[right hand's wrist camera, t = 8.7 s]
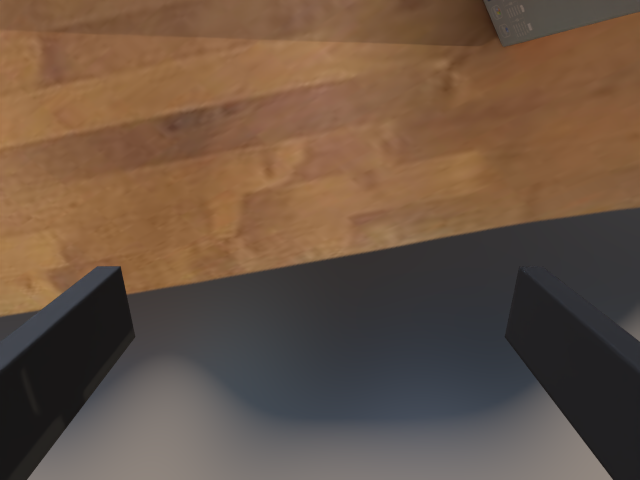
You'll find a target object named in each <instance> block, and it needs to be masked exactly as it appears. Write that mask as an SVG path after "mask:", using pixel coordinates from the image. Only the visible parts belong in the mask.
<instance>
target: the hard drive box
mask: <svg viewBox="0 0 640 480" xmlns="http://www.w3.org/2000/svg"><path fill="white" fill-rule="evenodd" d="M483 1H484V3H485V5H486V8H487V10H488V13H489V15H490V17H491V20H492V22H493V25H494V27H495V30H496V32H497V35H498V37H499V39H500V42H501V44H502V46H503V47H505V46H509V45H514V44H518V43H522V42H525V41H529V40H533V39H537V38H541V37H544V36H548V35H552V34H556V33H560V32H563V31H567V30H571V29H575V28H578V27H582V26H586V25H590V24H594V23H597V22H601V21H605V20H609V19H613V18H616V17H620V16H624V15H628V14H632V13H636V12H640V0H483Z"/></svg>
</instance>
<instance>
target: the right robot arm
mask: <svg viewBox="0 0 640 480" xmlns="http://www.w3.org/2000/svg"><path fill="white" fill-rule="evenodd" d="M134 338H135V334H134V329H133V324H132V319H131V314H130V309H129V305H128V300H127V295H126V290H125V285H124V281H123V276H122V271H121V266H97V267H96V268H95V269H93V270H92V271H91V272H89V273H88V274H87V275H86V276H84V277H83V278H82V279H80V280H79V281H78V282H77V283H75V284H74V285H73V286H71V287H70V288H69V289H68V290H66V291H65V292H64V293H62V294H61V295H60V296H59V297H57V298H56V299H55V300H53V301H52V302H51V303H50V304H48V305H47V306H46V307H44V308H43V309H42V310H41V311H39V312H38V313H37V314H35V315H34V316H33V317H32V318H30V319H29V320H28V321H26V322H25V323H24V324H23V325H21V326H20V327H19V328H17V329H16V330H15V331H14V332H12V333H11V334H10V335H8V336H7V337H6V338H4V339H3V340H2V341H1V342H0V480H27V479H28V477H29V476H30V475H31V474H32V472H33V471H34V470H35V468H36V467H37V466H38V464H39V463H40V462H41V460H42V459H43V458H44V456H45V455H46V454H47V452H48V451H49V450H50V448H51V447H52V446H53V445H54V443H55V442H56V441H57V439H58V438H59V437H60V435H61V434H62V433H63V431H64V430H65V429H66V427H67V426H68V425H69V423H70V422H71V421H72V419H73V418H74V417H75V416H76V414H77V413H78V412H79V410H80V409H81V408H82V406H83V405H84V404H85V402H86V401H87V400H88V398H89V397H90V396H91V395H92V393H93V392H94V391H95V389H96V388H97V387H98V385H99V384H100V383H101V381H102V380H103V379H104V377H105V376H106V375H107V373H108V372H109V371H110V369H111V368H112V367H113V366H114V364H115V363H116V362H117V360H118V359H119V358H120V356H121V355H122V354H123V352H124V351H125V350H126V348H127V347H128V346H129V344H130V343H131V342H132V341H133V339H134ZM505 338H506V339H507V341H508V342H509V343H510V344H511V346H512V347H513V348H514V350H515V351H516V352H517V354H518V355H519V356H520V358H521V359H522V360H523V362H524V363H525V364H526V366H527V367H528V368H529V369H530V371H531V372H532V373H533V375H534V376H535V377H536V379H537V380H538V381H539V383H540V384H541V385H542V387H543V388H544V389H545V391H546V392H547V393H548V395H549V396H550V397H551V398H552V400H553V401H554V402H555V404H556V405H557V406H558V408H559V409H560V410H561V412H562V413H563V414H564V416H565V417H566V418H567V420H568V421H569V422H570V423H571V425H572V426H573V427H574V429H575V430H576V431H577V433H578V434H579V435H580V437H581V438H582V439H583V441H584V442H585V443H586V445H587V446H588V447H589V448H590V450H591V451H592V452H593V454H594V455H595V456H596V458H597V459H598V460H599V462H600V463H601V464H602V466H603V467H604V468H605V470H606V471H607V472H608V474H609V475H610V476H611V477H612V479H613V480H640V342H639V341H638V340H637V339H635V338H634V337H633V336H632V335H630V334H629V333H628V332H626V331H625V330H624V329H623V328H621V327H620V326H619V325H617V324H616V323H615V322H614V321H612V320H611V319H610V318H608V317H607V316H606V315H605V314H603V313H602V312H601V311H599V310H598V309H597V308H596V307H594V306H593V305H592V304H590V303H589V302H588V301H587V300H585V299H584V298H583V297H581V296H580V295H579V294H578V293H576V292H575V291H574V290H572V289H571V288H570V287H568V286H567V285H566V284H565V283H563V282H562V281H561V280H559V279H558V278H557V277H556V276H554V275H553V274H552V273H551V272H549V271H548V270H547V269H545V268H544V267H542V266H520V267H519V271H518V276H517V281H516V285H515V290H514V295H513V300H512V305H511V310H510V314H509V319H508V324H507V329H506V334H505Z"/></svg>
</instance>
